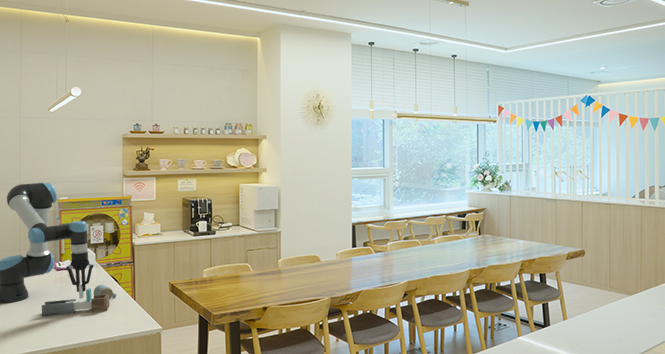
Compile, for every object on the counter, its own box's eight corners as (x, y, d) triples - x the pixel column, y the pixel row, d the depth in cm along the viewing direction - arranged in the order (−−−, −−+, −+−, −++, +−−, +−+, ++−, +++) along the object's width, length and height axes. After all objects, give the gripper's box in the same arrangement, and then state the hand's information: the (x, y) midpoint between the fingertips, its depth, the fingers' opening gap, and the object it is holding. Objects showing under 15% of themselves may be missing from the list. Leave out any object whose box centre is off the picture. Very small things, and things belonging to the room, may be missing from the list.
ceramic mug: (101, 302, 260) (100, 288, 260) (93, 300, 265) (92, 286, 265) (119, 297, 269) (119, 284, 269) (111, 295, 274) (111, 282, 274)
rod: (66, 308, 247) (65, 290, 247) (104, 305, 252) (104, 287, 251) (64, 310, 244) (63, 292, 243) (103, 307, 249) (102, 288, 248)
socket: (94, 307, 253) (94, 295, 252) (109, 305, 255) (108, 293, 254) (91, 312, 245) (91, 299, 245) (106, 310, 247) (106, 298, 247)
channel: (46, 312, 246) (45, 301, 246) (76, 309, 250) (76, 299, 249) (42, 316, 240) (41, 305, 239) (73, 313, 244) (72, 302, 243)
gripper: (63, 254, 240) (65, 301, 242) (92, 252, 244) (94, 298, 245) (67, 251, 248) (69, 296, 249) (94, 249, 251) (97, 294, 253)
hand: (81, 297), depth 247 cm, fingers closed
